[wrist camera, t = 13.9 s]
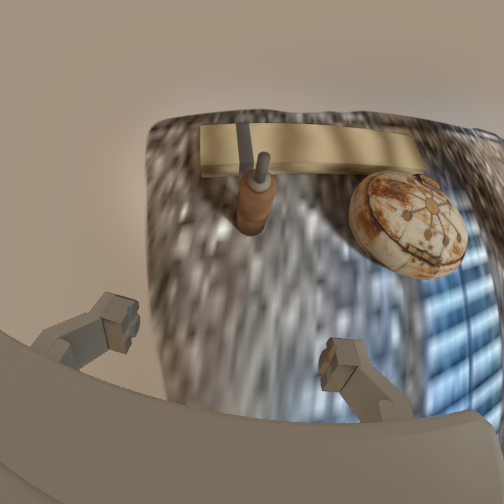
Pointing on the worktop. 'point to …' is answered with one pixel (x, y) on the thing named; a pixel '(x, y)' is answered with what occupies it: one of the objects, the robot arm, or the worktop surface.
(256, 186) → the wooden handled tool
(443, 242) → the trinket box
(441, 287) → the worktop surface
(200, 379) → the worktop surface
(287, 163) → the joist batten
